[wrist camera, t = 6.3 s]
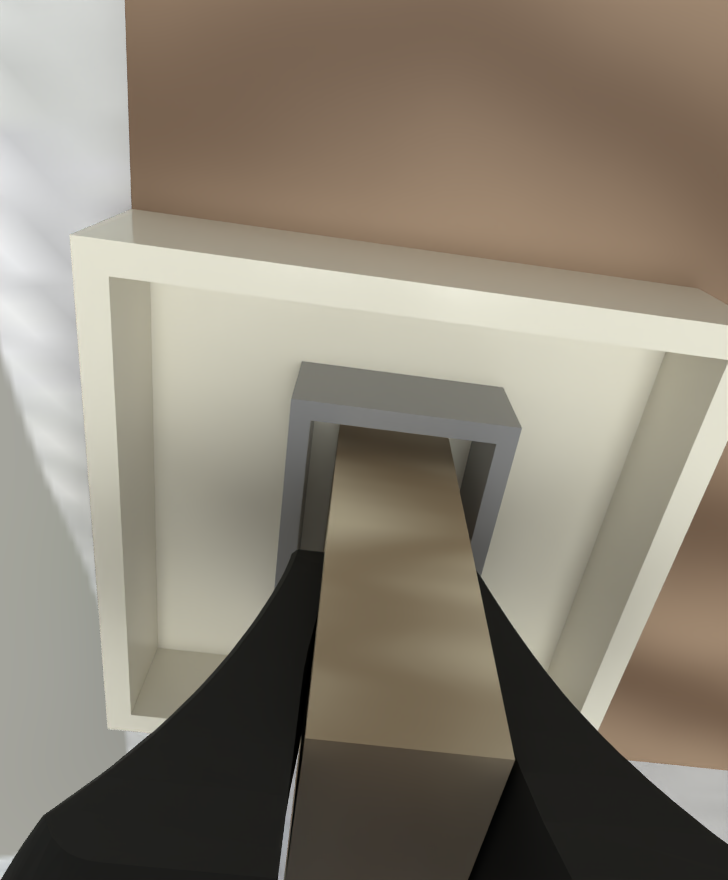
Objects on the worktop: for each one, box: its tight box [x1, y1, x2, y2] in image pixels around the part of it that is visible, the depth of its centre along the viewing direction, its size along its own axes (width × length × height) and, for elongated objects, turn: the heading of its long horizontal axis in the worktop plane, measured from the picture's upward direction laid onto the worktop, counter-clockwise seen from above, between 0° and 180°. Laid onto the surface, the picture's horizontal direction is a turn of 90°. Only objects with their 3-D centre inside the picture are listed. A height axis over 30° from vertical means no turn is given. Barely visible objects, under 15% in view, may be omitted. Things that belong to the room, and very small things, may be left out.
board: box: [125, 0, 728, 770], centre depth 16 cm, size 20×20×1 cm
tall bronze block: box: [284, 424, 515, 880], centre depth 12 cm, size 2×5×8 cm, turn 172°
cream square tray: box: [70, 209, 728, 746], centre depth 15 cm, size 12×12×3 cm
